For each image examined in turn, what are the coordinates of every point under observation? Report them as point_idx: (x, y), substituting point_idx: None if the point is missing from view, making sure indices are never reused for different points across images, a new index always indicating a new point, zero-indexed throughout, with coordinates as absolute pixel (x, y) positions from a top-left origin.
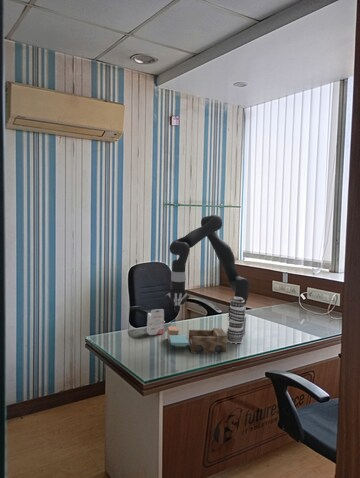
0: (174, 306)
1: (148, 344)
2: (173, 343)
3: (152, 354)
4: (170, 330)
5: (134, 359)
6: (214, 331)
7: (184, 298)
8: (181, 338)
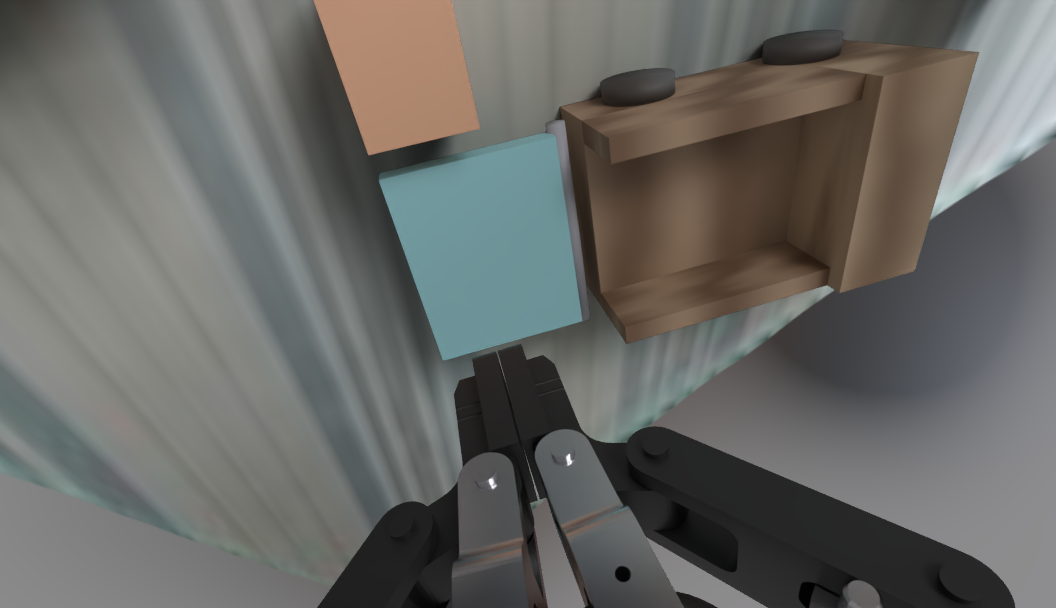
0: (465, 457)
1: (196, 216)
2: (460, 351)
3: (320, 389)
4: (382, 151)
5: (238, 482)
6: (859, 167)
7: (771, 579)
8: (518, 244)
